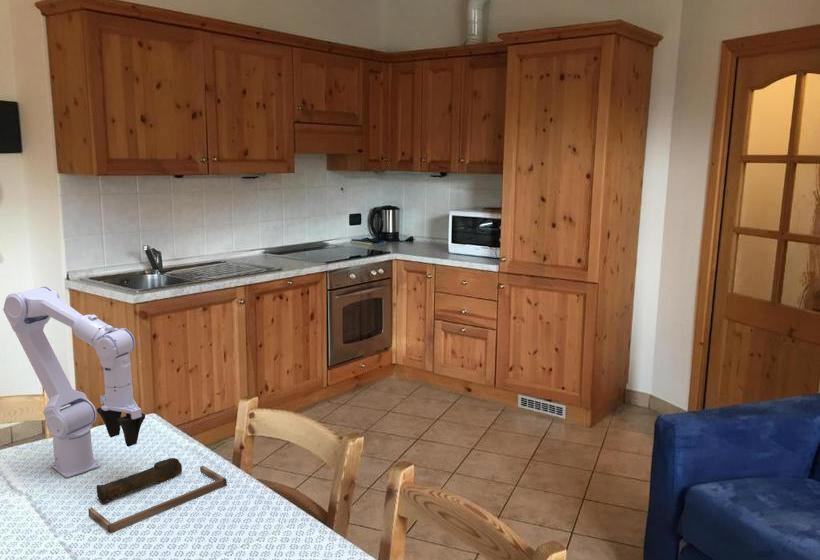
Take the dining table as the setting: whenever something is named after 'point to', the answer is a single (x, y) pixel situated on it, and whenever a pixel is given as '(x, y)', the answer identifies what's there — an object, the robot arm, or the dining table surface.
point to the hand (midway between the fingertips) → (123, 440)
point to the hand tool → (140, 479)
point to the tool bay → (161, 507)
